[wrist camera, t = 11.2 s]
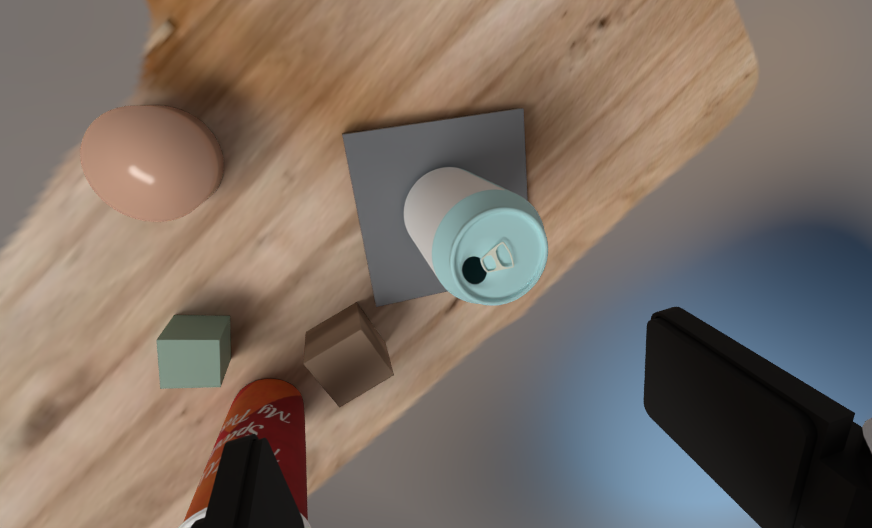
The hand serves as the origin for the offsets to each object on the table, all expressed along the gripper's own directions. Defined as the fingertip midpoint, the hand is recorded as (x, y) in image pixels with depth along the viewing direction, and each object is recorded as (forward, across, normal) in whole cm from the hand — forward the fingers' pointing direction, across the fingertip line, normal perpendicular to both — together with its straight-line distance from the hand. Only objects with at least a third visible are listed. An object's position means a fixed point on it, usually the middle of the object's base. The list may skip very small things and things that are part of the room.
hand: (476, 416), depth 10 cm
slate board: (+26, -6, +3) cm, 27 cm away
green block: (+26, +16, +9) cm, 32 cm away
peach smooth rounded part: (+27, +13, -5) cm, 30 cm away
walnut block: (+26, +5, +12) cm, 29 cm away
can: (+25, -6, +3) cm, 26 cm away
